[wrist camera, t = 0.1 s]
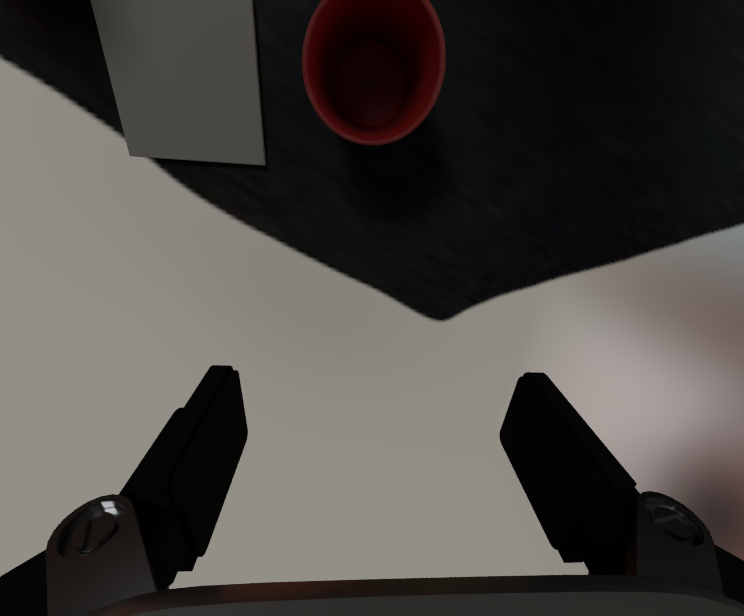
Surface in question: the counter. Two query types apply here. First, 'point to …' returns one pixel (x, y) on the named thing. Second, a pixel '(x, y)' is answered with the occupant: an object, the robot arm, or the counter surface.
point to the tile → (185, 77)
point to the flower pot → (373, 67)
